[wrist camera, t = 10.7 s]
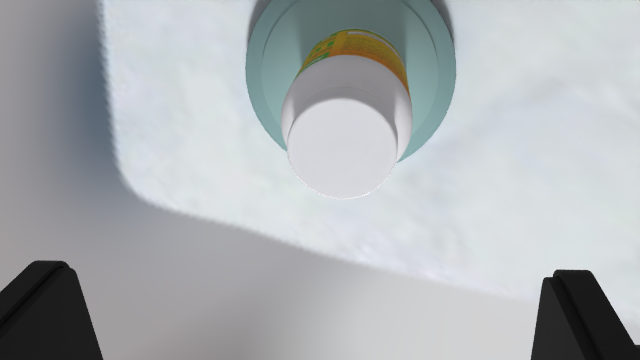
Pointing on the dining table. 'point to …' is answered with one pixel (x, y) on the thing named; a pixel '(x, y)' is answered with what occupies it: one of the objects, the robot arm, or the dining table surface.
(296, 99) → the supplement bottle
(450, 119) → the dining table surface
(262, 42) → the dish
